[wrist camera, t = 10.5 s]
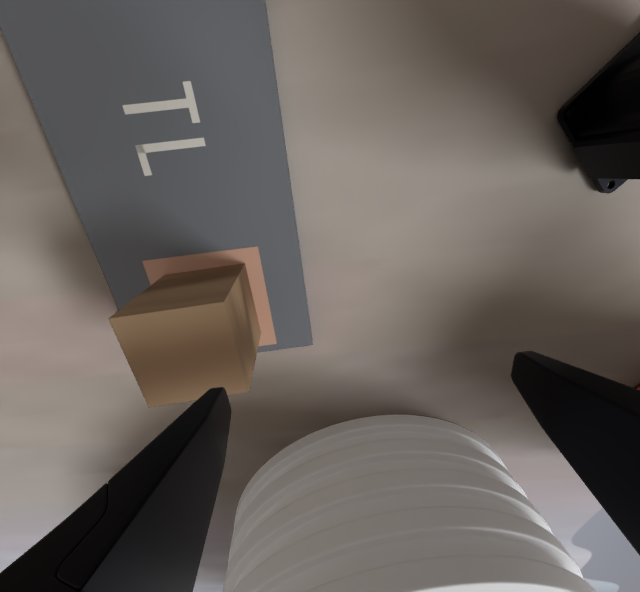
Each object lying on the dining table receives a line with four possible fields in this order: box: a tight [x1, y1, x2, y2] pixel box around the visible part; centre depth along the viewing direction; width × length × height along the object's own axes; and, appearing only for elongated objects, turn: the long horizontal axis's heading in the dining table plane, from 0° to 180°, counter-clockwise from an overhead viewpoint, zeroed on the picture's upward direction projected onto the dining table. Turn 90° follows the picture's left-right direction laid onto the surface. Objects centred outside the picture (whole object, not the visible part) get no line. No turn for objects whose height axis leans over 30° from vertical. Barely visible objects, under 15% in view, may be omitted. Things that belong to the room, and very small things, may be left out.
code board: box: [0, 0, 313, 352], centre depth 16 cm, size 28×12×1 cm, turn 6°
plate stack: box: [223, 415, 596, 592], centre depth 25 cm, size 28×28×12 cm
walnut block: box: [109, 263, 261, 407], centre depth 17 cm, size 5×5×6 cm
